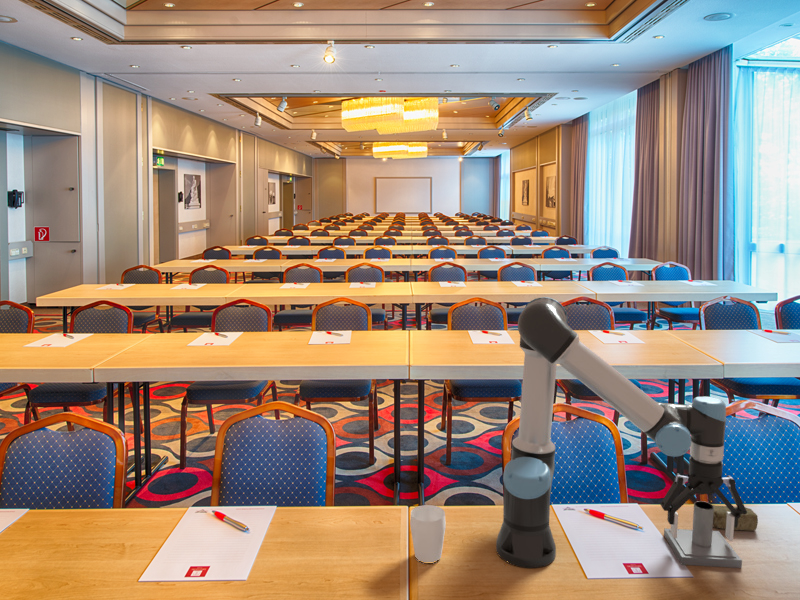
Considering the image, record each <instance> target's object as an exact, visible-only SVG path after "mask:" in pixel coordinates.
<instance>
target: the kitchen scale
mask: <svg viewBox="0 0 800 600" xmlns="http://www.w3.org/2000/svg"><path fill="white" fill-rule="evenodd" d="M670 531H671V528H664V529H663V537H664V538H665V539H666V541H667V543H668V545H669V547H670V548H671V549H672V551H673V552H674V554H675V557H677V559H678V561H679V563H680V564H681V566H682V565H683V566H698V567H699V566H700V567H715V568H716V567H717V568H718V567H719V568H733V569H735V568H737V569H741V568H742V566H743V565H742V564H743V559H742V558H741V557H740V556H739V554H738V553H737V552H736V551H735V550H734V549H733V547H732V546H731V544H729V542H728V541H727V539H726V538H725V537H724V536H723V534H722V533H721V532H720V530H712V544H711V546H710V547H701V546H698V545H696V544H694V543H693V542H692V531H693V529H686V528H685V529H684V528H681V529H680V528H677V538H674V537H673V536H672V534H671V533H670Z"/></svg>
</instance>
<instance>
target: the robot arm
mask: <svg viewBox="0 0 800 600" xmlns="http://www.w3.org/2000/svg"><path fill="white" fill-rule="evenodd" d="M567 313H568V312H567V311H566V309H565V307H564V306H563V305H562V304H561V303H560V302H559V301H558V300H557V299H554V298H551V297H545V296H542V297H537V298H534V299H532V300H530V301H529V302H528V303H526V305H525V307H524V309H522V312H520V314H519V316H518V320H517V330H518V334H519V335H520V336H519V337H520V338H519V348H520V349H521V350H522V351H523V353H524V357H523V358H524V360H523V373H522V374H523V375H522V384H521V396H520V397H521V399H520V410H519V411H520V412H519V424H518V427H519V428H518V435H517V436H516V437H515V438H513V440H512V444H511V445H512V446H511V456H510V457H511V459H510V460H509V461H508V462H507V463H506V464H505V466H504V471H503V474H502V480H503V509H502V510H503V512H502V513H503V514H502V515H503V516H502V517H503V520H502V524H501V526H500V530H499V531H498V534H497V537H496V542H495V543H496V544H495V547H496V548H495V551H496V550H497V551H496V553H497V552H498V554H499V555H500V556H501V557H502V558H503V559H504V560H505V561H504V560H503V559H502V558H501V557H500V556H499V555H498V554H497V555H498V556H499V557H500V558H501V559H502V560H503V561H504V562H506V561H508V562H509V563H508V562H507V563H508V564H510V563H511V564H510V565H512V564H514V565H513V566H515V565H517V566H516V567H519V566H520V567H519V568H527V569H534V568H535V569H536V568H541V567H542V568H543V567H545V566H548V565H550V564H552V563H553V562H554V561H555V559H556V555H557V554H556V553H557V547H556V546H557V545H556V543H555V539H554V536H553V533H552V530H551V527H550V526H551V525H550V511H551V509H550V508H551V507H550V505H551V491H552V485H553V477H554V474H555V469H556V465H555V457H556V444H555V443H553V441H552V440H551V435H552V424H553V411H554V399H555V397H554V396H555V390H556V389H555V387H556V375H557V365H559V366H561V367H562V368H563V369H565V370H566V371H567V372H568V373H570V374H571V375H572V376H573V377H574V378H576V379H577V380H578V381H579V382H581V383H582V384H583V385H585V387H587V388H588V389H589V390H591V391H592V392H593V393H594V394H595V395H597V396H598V397H599V398H600V399H602V400H603V401H604V402H605V403H607V404H608V405H609V406H610V407H612V408H613V409H614V410H615V411H616V412H618V413H619V414H621V416H623V417H624V418H625V419H627V420H628V421H629V422H631V424H633V425H634V426H635V428H636V427H637V428H638V430H640V431H642V432H643V433H644V434H645V435H646V436H647V437H648V438H650V439H651V440H652V441H653V442H655V445H656V446H657V448H658V450H659V451H660V452H661V453H663V454H664V455H666V456H668V457H676V458H678V457H681V456H683V455H685V454H686V453H688V451H689V455H690V456H689V462H688V474H687V475H681V474H680V473H676V474H674V475H675V476H674V479H673V480H674V481H673V482H672V484H671V486H670V488H669V489H668V491H667V492H666V494H665V496H664V497H663V499H662V501H661V502H660V507H661V508H662V510H663V511H665V512H667V522H668V523H669V525H670V529H671V531H670V533H671V534H672V536H673V537H674V538H677V529H679V528H678V524H679V514H678V512H677V511H679V510H680V508H681V507H683V506H684V504H686V503H687V502H688V501H689V500H691V498H692V497H694V496H696V495H697V494H698V495H702V496H703V495H708V496H712V495H714V494H715V495H717V497H718V498H719V499H720V500H721V502H722V503H723V504H724V506H727V507H728V508H729V510H730V511H731V512H727V519H726V529H725V535H724V536H725V537H726V538H727V540H729V542H733V541H734V534H735V533H734V531H735V530H734V527H735V528H737V526H738V518H740V517H741V514H744V515H745V514H747V511H746V509H745V505H744V502H743V500H742V498H741V496H740V494H739V492H738V489H737V487H736V480H735V479H734V478H733V477H732V476H731V475H727V476H725V477H723V469H724V468H723V467H724V463H723V460H724V453H725V452H724V451H725V450H724V449H725V435H726V434H725V432H726V422H727V411H726V410H727V408H726V407H727V406H726V403H725V402H724V401H723V400H722V399H720V398H717V397H712V396H707V395H706V396H696V397H694V398H693V399H692V403H691V404H680V403H670V402H669V403H668V402H658V401H655V400H654V399H653V398H652V397H651V396H650V395H648V394H647V393H645V391H643V390H642V389H641V388H639V387H638V386H637V385H636V384H634V383H633V382H632V381H631V380H630V379H628V378H627V377H626V376H625V375H623V374H622V373H620V372H619V371H618V370H617V369H616V368H614V367H613V366H612V365H611V364H609V363H608V362H607V361H605V360H604V359H603V358H602V357H601V356H600V355H598V354H597V353H595V352H594V351H593V350H592V349H590V347H588V346H587V345H585V344H584V342H582V341H580V337H579V334H578V332H576V331H575V330H573V328H571V326H569V324H568V314H567ZM686 482H687V483H688V484H687V485H686V486H685V488H684V490H682V491H681V489H682V488H683V486H684V485H685V484H686ZM724 484H725V486H726V487H727V488H728V491H729V493H730V495H731V497H732V499H733V502H734V503H735V505H736V507H737V508H734V507H735V506H734V505H733V504H732V503H731V502H730V500H728V498H727V497H726V496H725V495H724V493H723V492H722V491H721V490H720V488H721V487H722V486H723V485H724ZM680 491H681V492H680Z"/></svg>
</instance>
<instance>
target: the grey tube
mask: <svg viewBox="0 0 800 600" xmlns="http://www.w3.org/2000/svg"><path fill="white" fill-rule="evenodd" d="M713 505H714V504H712V503H710V502H708V501H702V500H699V501H698V500H697V501H695V502H694V503H693V515H692V519H693V520H692V530H693V531H692V542H693V543H694V544H696V545H698V546H701V547H710V546H711V544H712V531H714V530H713V527H714V526H713V514H714V506H713Z"/></svg>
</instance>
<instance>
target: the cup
mask: <svg viewBox="0 0 800 600" xmlns="http://www.w3.org/2000/svg"><path fill="white" fill-rule="evenodd" d="M409 521H410V522H409V524H410V533H411V538H412V539H411V540H412V544H413V552H414V557H416V558H417V559H418V560H420V561H423V562H434V561H437V560H439V559H440V558H441V559H442V553H443V547H444V539H445V533H446V527H447V524H446V511H445V510H444V509H443V508H442V507H440V506H438V505H433V504H423V505H419V506H415V507H414V508H413V509H412V510H411V511H410V519H409ZM416 558H415V559H416ZM417 559H416V560H417ZM441 559H440V560H441ZM418 560H417V561H418ZM440 560H439V561H440Z"/></svg>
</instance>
